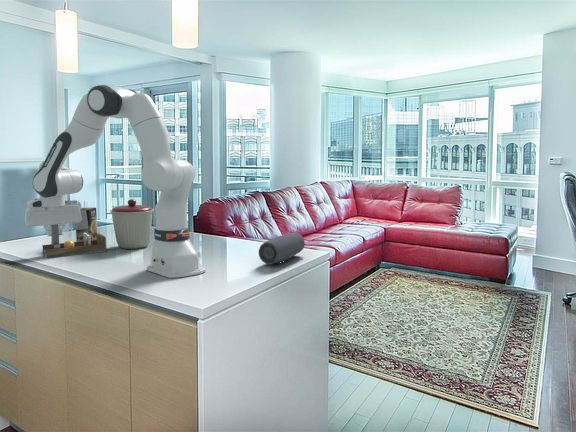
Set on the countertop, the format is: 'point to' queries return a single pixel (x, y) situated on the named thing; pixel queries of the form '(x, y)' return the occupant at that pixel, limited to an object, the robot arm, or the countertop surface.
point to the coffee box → (87, 224)
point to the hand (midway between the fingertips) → (55, 235)
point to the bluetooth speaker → (281, 248)
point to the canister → (132, 225)
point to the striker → (55, 237)
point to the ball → (69, 244)
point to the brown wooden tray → (78, 247)
